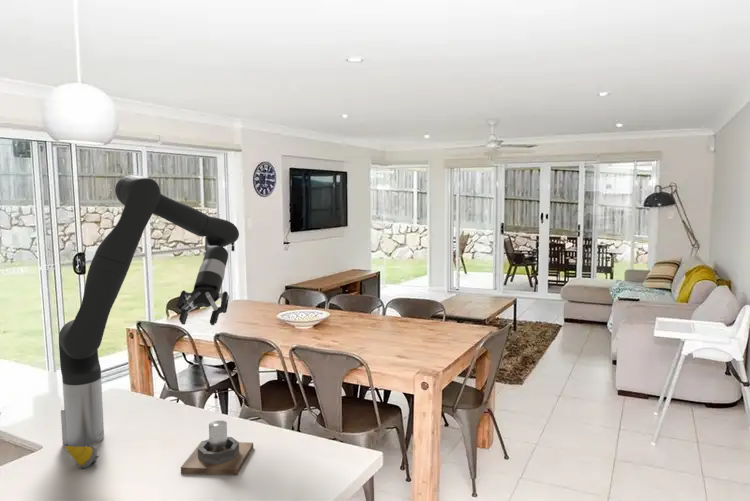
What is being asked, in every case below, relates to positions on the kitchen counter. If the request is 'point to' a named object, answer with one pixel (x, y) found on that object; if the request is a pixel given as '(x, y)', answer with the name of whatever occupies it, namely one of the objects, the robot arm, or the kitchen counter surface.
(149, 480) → the kitchen counter surface
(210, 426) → the steel peg
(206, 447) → the socket board
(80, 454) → the drill bit
